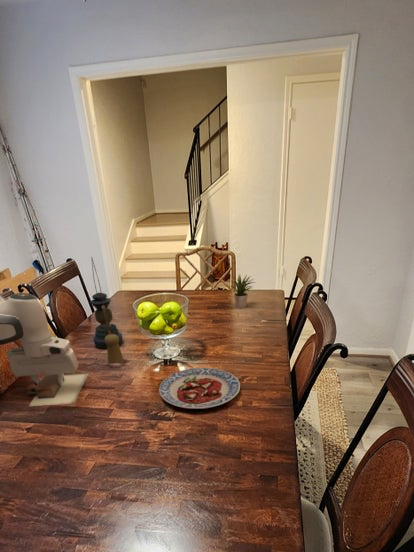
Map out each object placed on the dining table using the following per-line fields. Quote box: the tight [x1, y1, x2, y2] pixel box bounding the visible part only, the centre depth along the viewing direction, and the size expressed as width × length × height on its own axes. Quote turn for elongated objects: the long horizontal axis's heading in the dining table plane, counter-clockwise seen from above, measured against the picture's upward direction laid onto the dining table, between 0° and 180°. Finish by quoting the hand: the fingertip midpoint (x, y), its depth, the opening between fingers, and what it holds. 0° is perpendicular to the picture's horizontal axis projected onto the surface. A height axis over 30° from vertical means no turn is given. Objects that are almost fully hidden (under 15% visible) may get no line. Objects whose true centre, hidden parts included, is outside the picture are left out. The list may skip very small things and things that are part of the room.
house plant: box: [229, 274, 256, 309], centre depth 187 cm, size 14×14×16 cm
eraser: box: [35, 374, 64, 399], centre depth 122 cm, size 5×12×4 cm, turn 3°
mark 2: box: [27, 391, 37, 397], centre depth 119 cm, size 4×1×1 cm, turn 93°
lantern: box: [90, 256, 123, 350], centre depth 147 cm, size 14×12×35 cm
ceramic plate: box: [158, 367, 241, 410], centre depth 118 cm, size 26×26×3 cm
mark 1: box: [30, 386, 37, 392], centre depth 122 cm, size 4×1×1 cm, turn 91°
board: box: [28, 373, 89, 407], centre depth 123 cm, size 14×20×1 cm
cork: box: [104, 334, 125, 365], centre depth 138 cm, size 6×6×11 cm
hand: (51, 385), depth 122 cm, fingers closed on eraser, 5 cm apart
